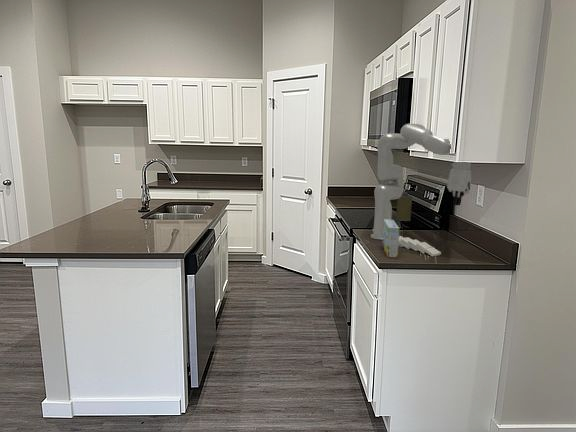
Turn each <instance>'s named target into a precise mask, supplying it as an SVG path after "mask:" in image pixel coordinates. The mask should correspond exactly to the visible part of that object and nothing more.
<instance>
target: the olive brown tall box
mask: <svg viewBox="0 0 576 432" xmlns="http://www.w3.org/2000/svg"><path fill="white" fill-rule="evenodd" d="M396 201H397V205H396V216H395V220H397V221H399V222H400V221H402V222H410V221H411V216H412V205H413V202H412V201H413V195H409V192H408V191H407V192H405V191H403V193H402V195H401V197H400V198H398V199H397V200H396Z"/></svg>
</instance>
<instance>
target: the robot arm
mask: <svg viewBox="0 0 576 432" xmlns="http://www.w3.org/2000/svg"><path fill="white" fill-rule="evenodd" d="M449 139H450V138H442V137H437V136H436V135H434V133H433V131H432V130H430V129H427V128H426V127H425V126H424V125H423V124H419V123H405V124H404V125H403V126H402V127H401V128H400V133H393V132H392V133H391V132H389V133H386V134H383V135H382V136H381V137H380V138H379V140H378V142H377V145H376V146H377V147H376V148H377V178H378V180H380V181H381V182H385V183H379V184H378V185H376V187H375V188H374V191H373V192H374V194H373V195H374V219H373V220H374V221H373V228H372V229H371V231H372V232H373V233H371V234H370V238H372V239H375V240H380V241H383V222H384V219H390V220H392V215H393V207H392V203H391V200H393V201H394V200H398V198H400V197H401V195H403V192H404V191H403V190H404V170H403V167H402V166H401V165H399V164H394V154H393V152H392V150H405V149H407V148H410V147H411V146H414V145H415V144H416V145H419V146H421V147H422V148H423V149H425V150H427V151H428V152H431V153H433V154H437V155H440V156H447V155H448V156H450V155H449V153H450V149H451V144H450V141H449ZM471 163H472V162H471ZM471 163H467V162H454V161H453V163H451V167H452V168H451V169H450V171H449V175H448V178H447V183H446V188H447V190H448V192H450V193H452V196H453V200H452V201H453V203H452V204H453V205H454V206H461V203H462V198H463V196H464V195H469V194H470V190H471V186H472V171H471V165H472V164H471ZM386 182H387V183H386ZM388 182H389V183H388Z"/></svg>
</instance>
